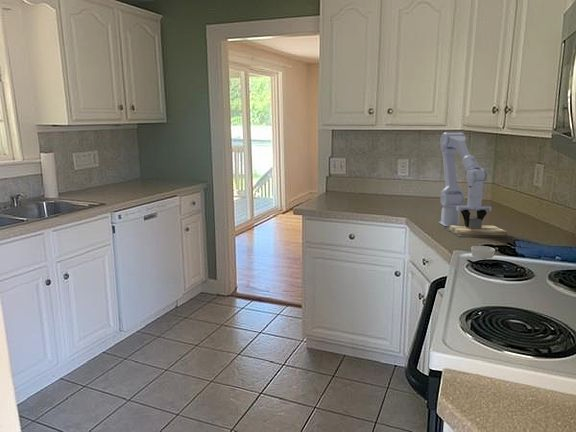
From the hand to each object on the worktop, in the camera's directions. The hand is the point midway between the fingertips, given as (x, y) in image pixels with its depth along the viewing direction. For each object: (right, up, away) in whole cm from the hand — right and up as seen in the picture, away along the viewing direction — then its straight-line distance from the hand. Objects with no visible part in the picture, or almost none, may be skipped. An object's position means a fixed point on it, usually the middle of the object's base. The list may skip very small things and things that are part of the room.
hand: (472, 226), depth 193 cm
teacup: (-16, -11, -44) cm, 48 cm away
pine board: (+2, -3, 0) cm, 3 cm away
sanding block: (0, -1, 0) cm, 1 cm away
